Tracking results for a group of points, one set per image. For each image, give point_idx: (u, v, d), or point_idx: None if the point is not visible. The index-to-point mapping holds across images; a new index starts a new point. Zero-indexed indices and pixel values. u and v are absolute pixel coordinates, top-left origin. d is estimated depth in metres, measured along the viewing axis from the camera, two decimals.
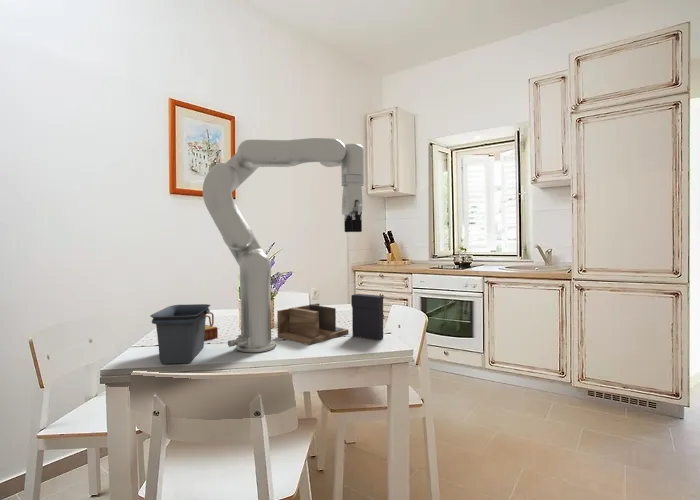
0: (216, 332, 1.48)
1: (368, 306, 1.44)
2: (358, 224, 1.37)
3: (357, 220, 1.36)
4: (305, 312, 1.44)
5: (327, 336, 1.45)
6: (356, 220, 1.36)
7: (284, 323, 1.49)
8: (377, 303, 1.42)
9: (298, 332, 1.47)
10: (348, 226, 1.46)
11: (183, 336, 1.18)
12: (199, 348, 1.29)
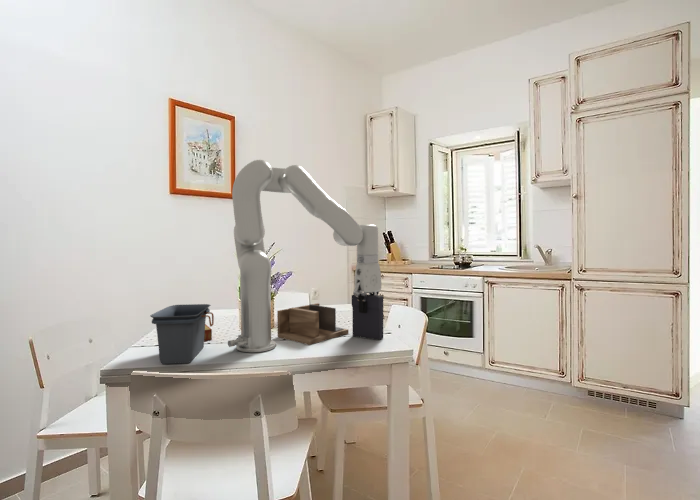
0: (210, 334, 1.45)
1: (368, 306, 1.44)
2: None
3: None
4: (305, 312, 1.44)
5: (327, 336, 1.45)
6: None
7: (284, 323, 1.49)
8: (378, 303, 1.42)
9: (298, 332, 1.47)
10: None
11: (183, 336, 1.18)
12: (199, 348, 1.29)
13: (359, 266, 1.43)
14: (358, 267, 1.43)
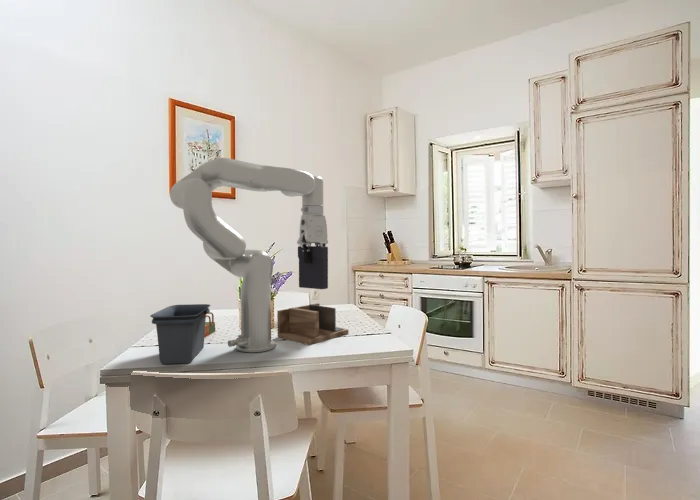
0: None
1: (312, 256, 1.47)
2: None
3: None
4: (305, 312, 1.44)
5: (327, 336, 1.45)
6: None
7: (284, 323, 1.49)
8: (321, 252, 1.45)
9: (298, 332, 1.47)
10: None
11: (183, 336, 1.18)
12: (199, 348, 1.29)
13: (303, 216, 1.45)
14: (302, 217, 1.46)
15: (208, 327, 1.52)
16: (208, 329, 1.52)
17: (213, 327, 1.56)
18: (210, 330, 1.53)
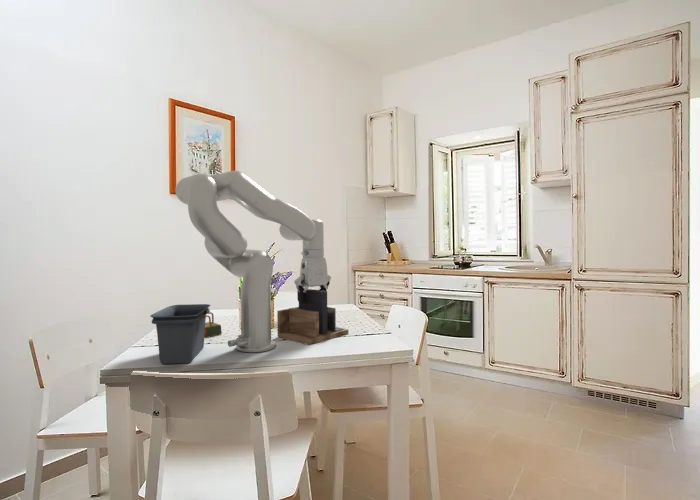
0: None
1: (312, 301, 1.47)
2: None
3: None
4: (305, 312, 1.44)
5: (327, 336, 1.45)
6: None
7: (284, 323, 1.49)
8: (320, 298, 1.45)
9: (298, 332, 1.47)
10: None
11: (183, 336, 1.18)
12: (199, 348, 1.29)
13: (304, 260, 1.46)
14: (303, 261, 1.46)
15: (205, 329, 1.49)
16: (205, 331, 1.49)
17: (216, 330, 1.52)
18: (210, 332, 1.50)
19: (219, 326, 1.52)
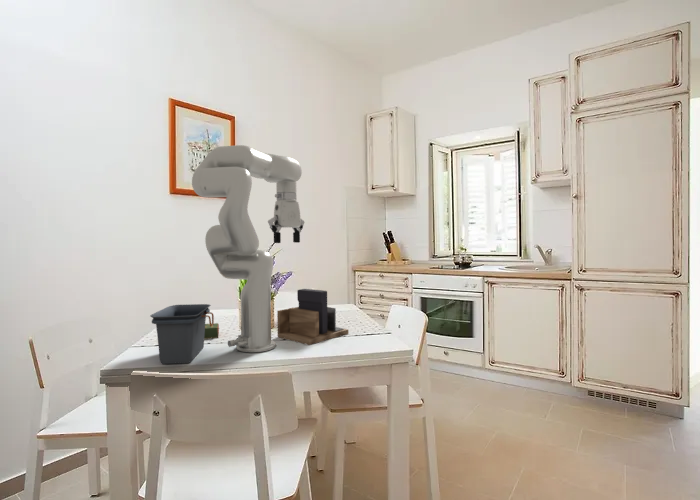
0: None
1: (312, 301, 1.47)
2: None
3: None
4: (305, 312, 1.44)
5: (327, 336, 1.45)
6: None
7: (284, 323, 1.49)
8: (320, 298, 1.45)
9: (298, 332, 1.47)
10: None
11: (183, 336, 1.18)
12: (199, 348, 1.29)
13: (277, 202, 1.56)
14: (276, 203, 1.56)
15: None
16: None
17: (212, 332, 1.48)
18: (205, 334, 1.47)
19: (215, 329, 1.48)
